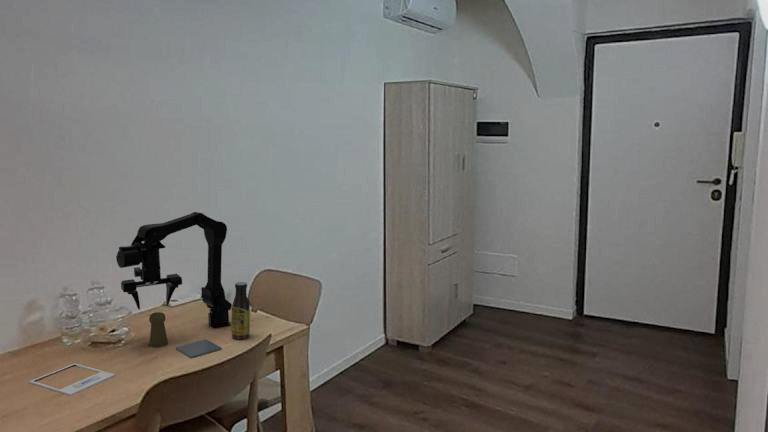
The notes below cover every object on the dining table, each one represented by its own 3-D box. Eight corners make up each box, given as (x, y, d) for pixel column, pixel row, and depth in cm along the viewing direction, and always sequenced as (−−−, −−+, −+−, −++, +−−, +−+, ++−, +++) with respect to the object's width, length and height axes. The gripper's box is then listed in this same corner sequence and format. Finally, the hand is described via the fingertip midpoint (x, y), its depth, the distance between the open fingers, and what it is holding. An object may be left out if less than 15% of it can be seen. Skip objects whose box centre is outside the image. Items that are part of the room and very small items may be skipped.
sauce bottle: (228, 338, 205) (226, 284, 202) (238, 333, 211) (237, 279, 208) (243, 341, 203) (242, 286, 200) (254, 335, 208) (252, 281, 205)
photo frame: (70, 393, 161) (29, 380, 169) (70, 397, 161) (29, 384, 169) (115, 373, 174) (74, 362, 182) (115, 377, 174) (75, 366, 182)
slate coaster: (205, 340, 203) (205, 339, 203) (221, 349, 195) (221, 347, 195) (175, 348, 195) (175, 347, 195) (191, 358, 188) (191, 356, 187)
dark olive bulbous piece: (171, 341, 202) (169, 310, 200) (163, 347, 196) (161, 316, 194) (154, 340, 203) (153, 310, 201) (145, 347, 197) (144, 315, 195)
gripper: (173, 254, 208) (175, 296, 210) (116, 261, 198) (119, 305, 200) (181, 261, 198) (183, 305, 201) (122, 268, 188) (125, 314, 191)
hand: (153, 307), depth 198 cm, fingers open, 9 cm apart
